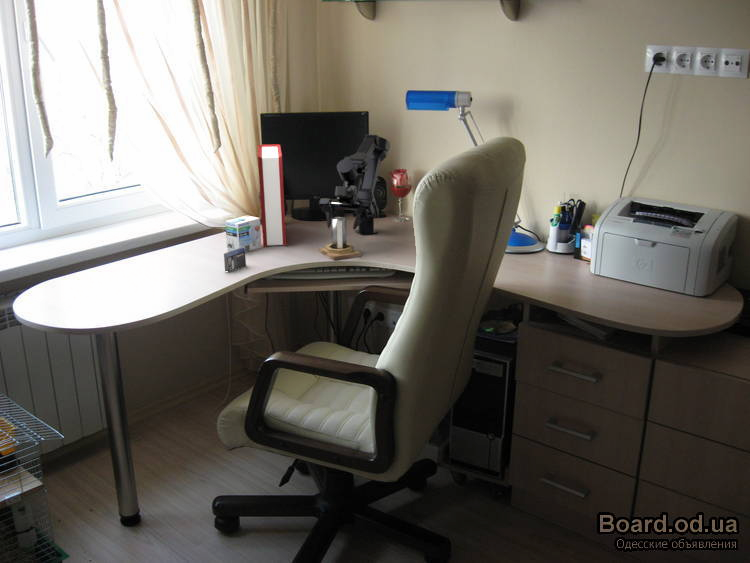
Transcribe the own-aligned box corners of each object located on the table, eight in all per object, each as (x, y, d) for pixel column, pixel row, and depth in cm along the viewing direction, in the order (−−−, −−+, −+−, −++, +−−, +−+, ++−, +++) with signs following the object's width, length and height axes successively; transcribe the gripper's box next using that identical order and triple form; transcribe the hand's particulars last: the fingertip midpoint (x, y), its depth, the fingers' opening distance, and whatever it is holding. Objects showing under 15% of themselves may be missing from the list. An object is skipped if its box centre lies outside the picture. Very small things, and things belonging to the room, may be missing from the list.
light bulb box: (239, 254, 251) (237, 223, 248) (226, 251, 255) (224, 220, 252) (262, 247, 259) (260, 217, 256) (249, 244, 263) (247, 214, 260)
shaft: (331, 248, 253) (330, 217, 249) (346, 248, 253) (345, 216, 250) (332, 252, 248) (331, 220, 244) (347, 252, 248) (346, 220, 245)
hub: (318, 251, 253) (318, 244, 253) (344, 247, 258) (344, 240, 257) (333, 260, 244) (333, 252, 243) (360, 256, 248) (360, 248, 247)
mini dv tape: (228, 272, 232) (227, 254, 230) (225, 271, 233) (223, 253, 231) (246, 265, 239) (244, 248, 237) (242, 265, 240) (241, 247, 238)
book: (286, 246, 260) (281, 155, 250) (263, 247, 259) (257, 156, 249) (284, 227, 286) (280, 144, 275) (263, 228, 285) (258, 144, 274)
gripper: (319, 175, 252) (308, 214, 246) (371, 177, 247) (361, 217, 240) (328, 192, 262) (317, 230, 255) (378, 195, 256) (369, 234, 250)
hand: (341, 228), depth 250 cm, fingers open, 9 cm apart
